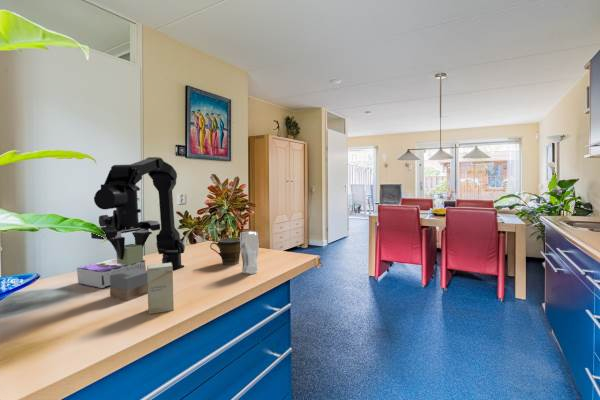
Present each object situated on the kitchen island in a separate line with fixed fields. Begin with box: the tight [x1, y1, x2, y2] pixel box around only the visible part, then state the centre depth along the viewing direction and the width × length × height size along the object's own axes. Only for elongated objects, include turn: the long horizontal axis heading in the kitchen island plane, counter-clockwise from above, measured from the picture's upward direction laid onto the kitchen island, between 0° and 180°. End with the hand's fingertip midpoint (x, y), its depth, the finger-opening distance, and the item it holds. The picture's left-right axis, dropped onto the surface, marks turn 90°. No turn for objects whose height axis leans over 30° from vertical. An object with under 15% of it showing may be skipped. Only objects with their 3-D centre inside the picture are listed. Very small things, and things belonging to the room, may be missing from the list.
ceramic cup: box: [209, 237, 241, 266], centre depth 129 cm, size 13×10×10 cm
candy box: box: [76, 257, 147, 289], centre depth 111 cm, size 14×6×16 cm
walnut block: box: [109, 284, 148, 302], centre depth 95 cm, size 8×8×4 cm
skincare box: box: [146, 262, 175, 315], centre depth 83 cm, size 6×4×12 cm
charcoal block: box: [109, 268, 148, 290], centre depth 95 cm, size 8×8×4 cm
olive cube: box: [115, 243, 144, 265], centre depth 95 cm, size 5×5×5 cm
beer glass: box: [239, 230, 260, 275], centre depth 116 cm, size 7×7×15 cm
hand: (129, 257), depth 95 cm, fingers closed on olive cube, 5 cm apart
